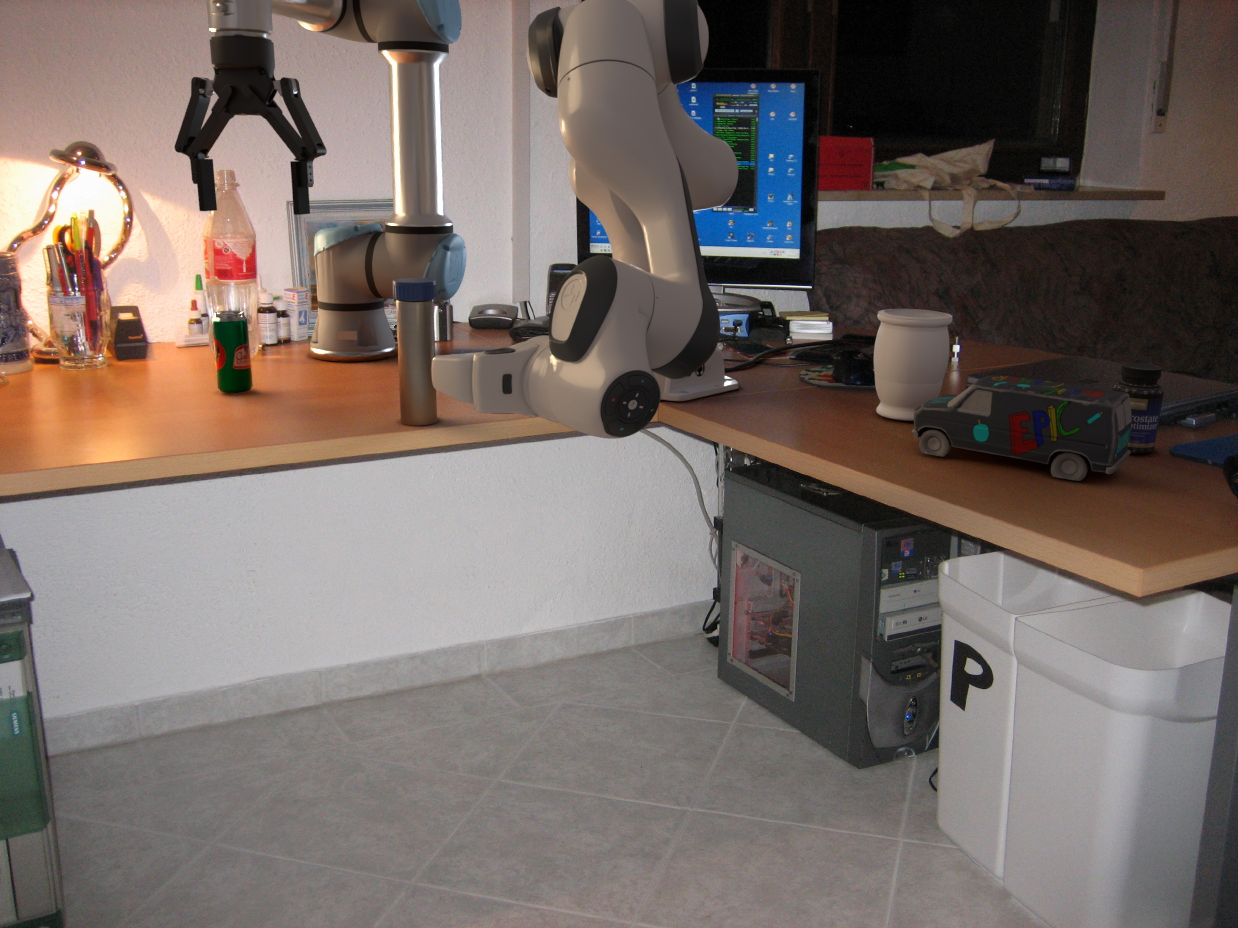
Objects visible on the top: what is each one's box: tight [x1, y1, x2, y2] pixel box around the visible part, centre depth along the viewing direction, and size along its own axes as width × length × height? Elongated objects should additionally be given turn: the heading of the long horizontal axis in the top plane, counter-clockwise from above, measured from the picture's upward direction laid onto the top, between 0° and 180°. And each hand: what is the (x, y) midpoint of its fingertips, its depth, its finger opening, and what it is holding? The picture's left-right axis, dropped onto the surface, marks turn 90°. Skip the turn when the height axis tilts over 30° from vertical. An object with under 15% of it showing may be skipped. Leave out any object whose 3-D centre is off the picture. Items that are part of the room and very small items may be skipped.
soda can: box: [211, 310, 254, 395], centre depth 162 cm, size 5×5×12 cm
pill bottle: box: [1111, 362, 1165, 455], centre depth 139 cm, size 6×6×11 cm
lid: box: [392, 278, 436, 301], centre depth 143 cm, size 6×6×2 cm
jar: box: [873, 308, 953, 422], centre depth 154 cm, size 11×10×15 cm
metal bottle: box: [395, 299, 438, 427], centre depth 146 cm, size 5×5×19 cm
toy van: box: [911, 374, 1133, 482], centre depth 133 cm, size 11×25×10 cm, turn 54°
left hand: (254, 213), depth 138 cm, fingers open, 13 cm apart
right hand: (488, 357), depth 128 cm, fingers open, 8 cm apart
